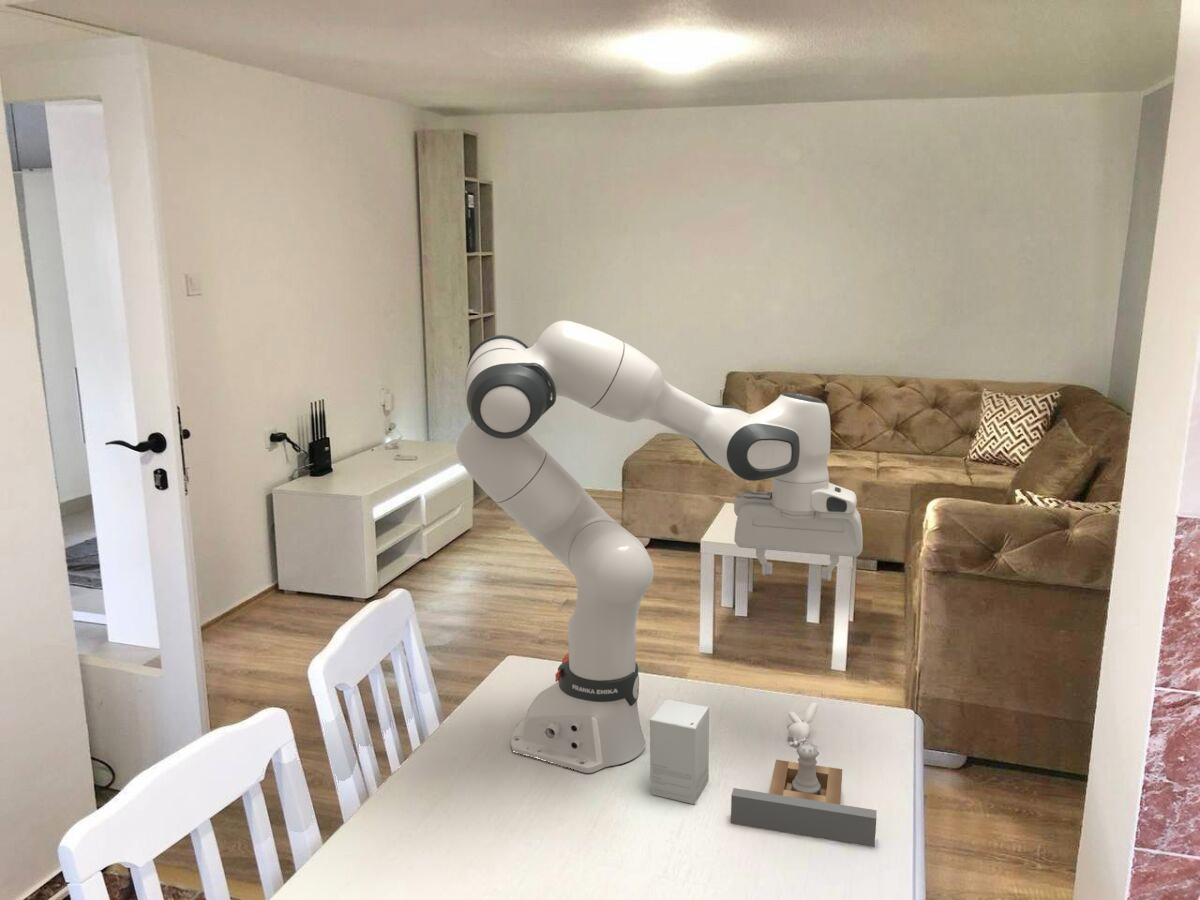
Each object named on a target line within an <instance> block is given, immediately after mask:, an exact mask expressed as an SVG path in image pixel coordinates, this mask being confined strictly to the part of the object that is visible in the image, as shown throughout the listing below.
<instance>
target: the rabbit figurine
mask: <svg viewBox="0 0 1200 900" xmlns="http://www.w3.org/2000/svg"><path fill="white" fill-rule="evenodd" d="M817 710H818V703H817V702H816V701H814V702H812V703H810V705H809V706H808V707H807V708H806V710H805V713H804V718H803V719H804V721H803V720H801V719H800V717H799V715H798V714H797V713H796V712H794V711H789V712H788V717H789V719H790V720H791V722H792V724H791V725H790V726H789V727H788V730H787V734H788V736H789V737H790V738H791V739H793V740H792V741H790V742H789V746H793V745H794V746H798V744H800V743H804V742H806V739H807V738H809V735H810V731H811V730H810V725H809V724H810V723H812V722H813V721H814V719H815V717H816V713H817Z"/></svg>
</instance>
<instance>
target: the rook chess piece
mask: <svg viewBox="0 0 1200 900" xmlns="http://www.w3.org/2000/svg"><path fill="white" fill-rule="evenodd" d="M817 748H818V747H817V744H815V743H814V742H812V741H811V742H810V743H809V744H808V741H804V742H802V743H799V745H798V747H797V748H796V753H797V755H798V758H797V763H799V768H798V773H797V775H796V776H795V779H794V780H793V781H792V785H791V786H792V787H791V791H796V792H802V793H809V794H815V795H821V791H820V790H821V786H820V783H819V782H818V779H817V777H816V770H815V765H817V764H818V761H817V759H816V758H817V757H818V756H819V754H820V752H819V750H818V749H817Z"/></svg>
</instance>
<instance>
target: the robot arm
mask: <svg viewBox="0 0 1200 900" xmlns="http://www.w3.org/2000/svg"><path fill="white" fill-rule="evenodd" d="M466 366H467V368H466V372H465V379H464V381H465V382H464V383H465V384H464V385H465V386H464V387H465V391H466V406H467V411H468V413H469V415H470V418H471V419H472V420H470V421H469V423H468V424H467V425H465V427H464V428H463V429H462V430H461V432H460V434H459V436H458V439H457V442H456V455H457V458H458V460H459V462H460V463H461V464H462V466H463V468H464V469H465V470H466V471H467V473H468V474H469V476H471V478H472V479H473V480H474V481H475V483H476V484H477V485H478V486H479V488H480V489H482V491H484V493H485V494H486V495H487V496H488V497H489V498H490V499H492V501H494V502H495V503H496V505H498V506H499V507H500V509H502V511H503V510H504V512H505V513H506V514H508V516H509V517H511V519H512V520H514V521H515V522H516V523H517V524H518V525H519V526H520V527H521V528H522V529H523V530H524V531H526V532H527V533H528V534H529V535H530V536H531V537H532V538H534V540H535V541H537V542H538V543H539V544H541V546H543V547H544V548H545V549H546V550H548V552H549V553H551V554H552V555H553V556H554V558H556V559H557V560H558V561H559V562H560V563H561V564H563V565H564V566H565V567H566V568H567V570H569V571H570V573H572V575H573V576H574V579H575V581H576V590H577V591H576V592H577V594H576V600H575V606H574V611H573V613H572V615H571V616H570V618H569V620H568V624H567V625H568V627H567V628H568V629H567V631H568V640H567V641H568V652H567V653H566V654H565V655H564V657H563V658H562V659H561V664H560V665H559V666H558V668H557V671H556V673H555V679H554V681H555V682H554V684H552V685H551V686H549V687H547V688H546V689H543V690H542V691H541V692H540V693H539V694H538V695H537V696H536V697H535V698H534V699H532V701H531V703H530V705H529V706H528V709H527V711H526V714H525V717H524V718H523V719H522V720H521V721H520V723H519V724H517V726H516V727H515V729H514V730H513V733H512V735H511V737H510V748H511V747H512V749H511V751H512V750H513V751H515V752H518V753H521V754H525V755H526V754H527V755H529V756H532V757H538V758H540V759H543V760H546V761H549V762H553V763H555V764H558V765H557V766H559V765H561V766H560V767H563V766H565V767H564V768H566V767H569V768H568V769H570V768H571V769H570V770H573V769H574V770H573V771H577V770H578V771H577V772H580V773H584V774H592V773H595V772H597V771H600V770H601V769H604V768H609V767H612V766H617V765H621V764H624V763H628V762H630V761H632V760H634V759H635V758H637V757H639V756H640V755H641V754H642V752H643V751H644V750H645V748H646V740H645V737H644V733H643V729H642V725H641V721H640V715H639V714H640V713H639V708H638V698H639V694H640V675H639V665H638V663H637V662H636V655H637V653H636V652H637V651H636V649H637V648H636V647H637V642H636V641H637V621H638V615H639V614H638V613H639V611H640V606H641V602H642V598H643V597H644V596H645V595H646V593H647V592H648V591H649V589H650V587H651V585H652V583H653V579H654V576H655V575H654V574H655V573H654V571H655V570H654V564H653V561H652V559H651V557H650V555H649V552H648V550H647V549H646V548H645V546H644V544H643V543H642V542H641V540H640V539H638V538H637V537H636V536H635V535H633V534H632V533H631V532H629V531H628V530H627V529H626V528H624V526H622V525H621V524H619V523H618V521H616V520H615V519H614V518H612V516H610V515H609V514H608V513H607V512H606V510H604V509H603V507H602V506H600V504H599V503H597V502H596V501H595V499H594V498H592V496H591V495H590V494H589V493H588V492H587V491H586V489H585V488H583V487H582V485H581V484H580V483H579V482H578V481H577V480H576V479H575V478H574V477H573V476H572V475H571V473H569V471H567V470H566V469H565V468H564V467H563V466H562V465H561V464H560V463H559V461H557V460H556V459H555V458H554V457H553V456H552V455H551V454H550V453H549V452H548V451H547V450H546V449H545V447H543V446H542V445H541V444H540V443H538V441H537V440H536V439H535V438H533V436H532V435H531V434H530V433H529V430H530V429H531V428H532V427H533V426H534V425H536V423H537V422H538V421H539V420H540V419H541V417H542V416H543V415H544V414H545V413H547V411H548V410H550V409H551V408H552V407H553V406H554V405H555V404H556V401H557V397H564V398H567V399H569V400H572V401H575V402H576V403H578V404H580V405H582V406H584V407H585V408H587V409H590V410H593V411H594V412H596V413H598V414H602V415H603V416H606V417H609V418H611V419H616V420H619V421H622V422H626V423H634V422H638V421H641V420H643V419H644V420H650V421H652V422H656V423H658V424H660V425H662V426H665V427H666V428H668V429H670V430H672V431H675V432H676V433H679V434H681V435H682V436H684V437H686V438H688V439H689V440H691V442H693V443H694V445H695V446H696V447H697V448H698V450H699V452H701V454H702V455H703V456H704V457H705V458H706V459H707V460H708V461H710V462H712V463H713V464H716V465H718V466H720V467H722V468H723V469H725V470H726V471H727V472H729V473H731V474H732V475H734V476H736V477H737V478H740V479H743V480H745V481H751V482H756V481H763V480H767V479H768V480H769V479H771V492H768V491H759V492H758V491H752V490H744V491H743V492H742V493H739V494H737V495H736V496H735V498H734V502H733V512H734V513H735V516H736V517H737V518H736V522H735V523H736V524H735V528H734V538H733V539H734V543H735V545H737V547H738V548H743V549H754V550H755V556H756V558H757V559H758V561H759V563H760V564H761V566H762V567H761V575H762V576H772V574H773V562H770V561H768V560H767V558H766V556H765V554H766V552H767V551H778V552H779V551H780V552H790V553H791V552H792V553H804V554H812V555H813V554H816V555H826V556H827V555H828V556H829V561H830V563H829V564H828V566H822V568H821V579H820V580H821V581H827V582H828V581H829V582H831V581H832V572H833V570H834V569H836V568H835V567H836V566H837V565H838V564H839V562H840V557H850V558H857V557H859V556H860V555H861V553H863V545H864V543H863V541H864V540H863V538H864V537H863V526H862V525H863V524H862V518H861V514H860V512H859V511H858V509H857V508H856V507H857V503H858V499H857V495H856V493H855V492H854V491H853V490H850V489H847V488H845V487H842V486H840V485H838V484H835V483H832V482H830V475H829V469H828V459H829V456H830V453H831V442H832V441H831V438H832V437H831V434H832V433H831V432H832V430H831V415H830V410H829V407H828V404H826V402H825V401H823V400H821V399H819V398H818V397H815V396H812V395H811V396H810V395H807V394H803V393H796V392H784V393H781V394H780V395H779V396H778V397H777V398H776V399H775V400H774V401H773V402H771V403H770V404H768V405H767V406H766V407H764V408H761V409H760V410H758V411H756V412H753V413H750V412H747V411H746V410H745V409H743V408H740V407H739V406H735V405H728V404H727V405H726V404H725V405H724V404H722V405H721V404H720V405H719V404H709V403H706V402H704V401H702V400H700V399H698V398H696V397H694V396H692V395H690V394H689V393H687V392H684V391H682V390H680V389H679V388H677V387H675V386H674V385H672V384H671V383H669V382H668V381H667V380H666V379H665V378H664V376H663V371H662V370H661V367H660V366H659V365H658V364H657V363H656V362H655V361H653V360H652V359H651V358H649V357H648V356H647V355H646V354H644V353H643V352H641V351H640V350H639V349H637V348H636V347H634V346H633V345H630V344H628V342H625V341H623V340H620V339H619V338H617V337H615V336H613V335H611V334H608V333H607V332H604V331H602V330H599V329H596V328H593V327H591V326H588V325H585V324H583V323H578V322H575V321H571V320H563V319H562V320H558V321H555V322H553V323H552V324H550V325H549V326H547V327H546V328H545V330H543V332H542V333H541V334H540V335H539V336H538V339H537V342H535V343H533V345H532V346H531V347H529V346H528V345H527V344H526V343H525V342H523V341H522V340H520V339H519V338H517V337H514V336H510V335H507V334H506V335H505V334H504V335H503V334H497V335H494V336H489V337H487V338H486V339H484V340H482V341H480V342H479V343H478V344H477V345H476V346H475V348H474V349H473V350H472V352H471V354H470V355H469V358H468V361H467V365H466ZM513 751H512V752H513ZM555 764H554V765H555Z"/></svg>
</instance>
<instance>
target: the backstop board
mask: <svg viewBox="0 0 1200 900" xmlns="http://www.w3.org/2000/svg"><path fill="white" fill-rule="evenodd" d="M730 799H731V801H730V824H732V825H733V824H734V825H738V826H744V827H749V828H750V827H751V828H756V829H760V830H761V829H762V830H769V831H775V832H780V833H786V834H791V835H797V836H798V835H799V836H804V837H811V838H815V839H821V840H822V839H823V840H829V841H834V842H839V843H846V844H854V845H857V846H864V847H870V848H876V847H875V846H876V831H877V830H876V829H877V813H878V812H877V809H873V808H871V809H870V808H867V807H866V808H865V807H858V806H852V805H845V804H841V803H840V804H834V803H827V802H821V801H814V800H808V799H802V798H795V797H789V796H783V795H776V794H770V793H769V792H762V791H755V790H749V789H743V788H737V787H733V789H732V793H731V798H730Z"/></svg>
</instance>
